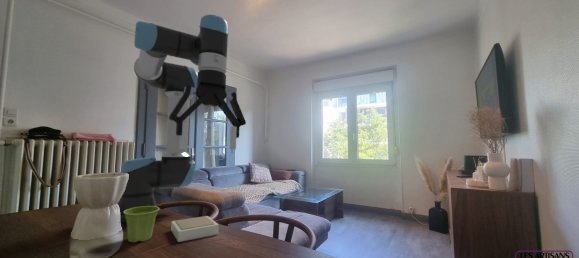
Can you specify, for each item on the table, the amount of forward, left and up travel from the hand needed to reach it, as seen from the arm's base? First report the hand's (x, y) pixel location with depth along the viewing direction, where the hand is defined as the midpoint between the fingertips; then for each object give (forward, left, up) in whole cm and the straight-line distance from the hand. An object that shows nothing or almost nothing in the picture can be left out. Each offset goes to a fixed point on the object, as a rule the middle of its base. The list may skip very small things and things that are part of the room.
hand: (208, 149), depth 65 cm
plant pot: (-22, -13, -28) cm, 37 cm away
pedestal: (-19, +2, -28) cm, 33 cm away
